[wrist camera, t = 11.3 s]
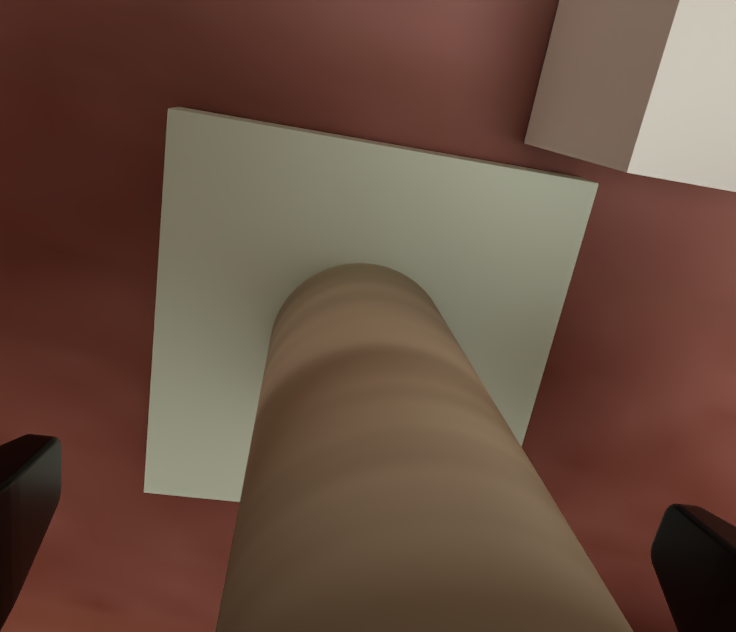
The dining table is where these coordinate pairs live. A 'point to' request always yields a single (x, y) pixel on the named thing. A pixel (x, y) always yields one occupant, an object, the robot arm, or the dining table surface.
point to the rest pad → (330, 249)
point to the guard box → (642, 88)
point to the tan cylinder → (393, 483)
